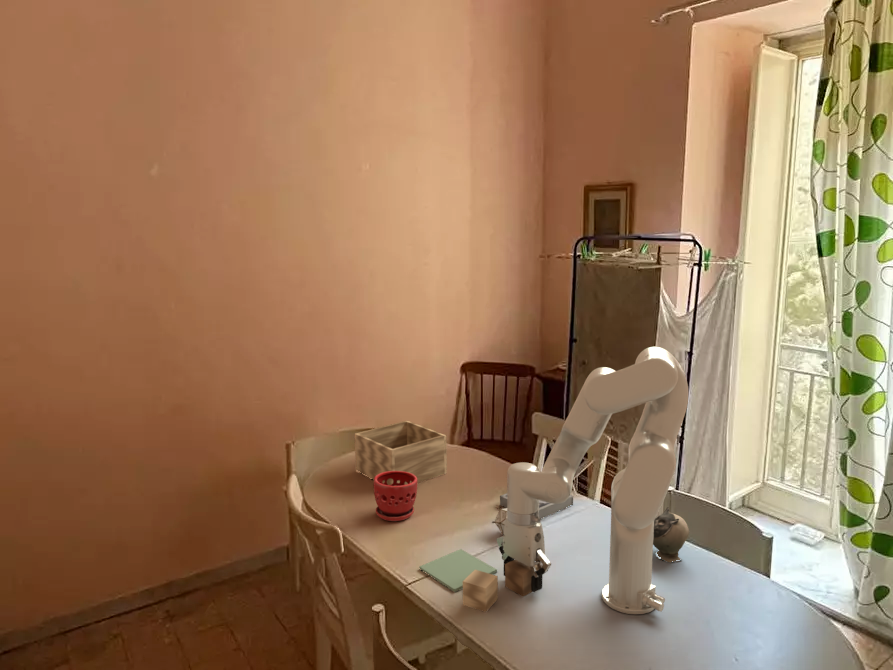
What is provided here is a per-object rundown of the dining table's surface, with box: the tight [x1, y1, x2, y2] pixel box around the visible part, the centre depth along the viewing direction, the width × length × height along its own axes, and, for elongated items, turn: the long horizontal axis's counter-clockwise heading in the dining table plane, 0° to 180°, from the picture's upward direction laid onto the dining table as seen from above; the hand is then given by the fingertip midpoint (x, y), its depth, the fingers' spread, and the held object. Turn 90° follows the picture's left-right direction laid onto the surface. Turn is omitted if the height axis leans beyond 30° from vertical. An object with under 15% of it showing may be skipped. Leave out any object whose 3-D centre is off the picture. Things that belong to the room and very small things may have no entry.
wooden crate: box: [354, 420, 448, 485], centre depth 235 cm, size 23×23×14 cm
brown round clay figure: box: [653, 506, 690, 563], centre depth 175 cm, size 10×12×10 cm
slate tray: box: [499, 492, 574, 519], centre depth 208 cm, size 15×17×3 cm
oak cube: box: [462, 570, 499, 613], centre depth 156 cm, size 6×6×6 cm
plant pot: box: [373, 471, 418, 522], centre depth 201 cm, size 13×13×12 cm
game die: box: [491, 506, 507, 537], centre depth 189 cm, size 9×8×10 cm
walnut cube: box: [504, 560, 539, 598], centre depth 162 cm, size 6×6×6 cm
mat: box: [419, 548, 498, 593], centre depth 170 cm, size 14×14×1 cm
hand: (522, 581), depth 162 cm, fingers open, 8 cm apart
